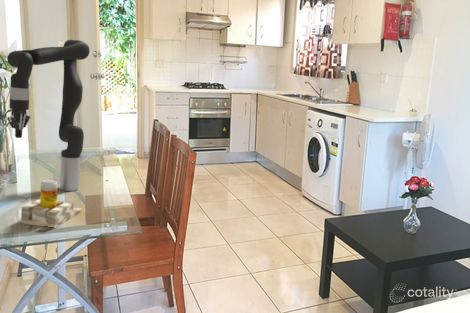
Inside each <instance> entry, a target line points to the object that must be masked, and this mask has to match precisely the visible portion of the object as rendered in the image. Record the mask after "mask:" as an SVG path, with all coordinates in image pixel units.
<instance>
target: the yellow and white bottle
mask: <svg viewBox="0 0 470 313" xmlns="http://www.w3.org/2000/svg"><path fill="white" fill-rule="evenodd" d="M58 187H59V186H58V182H57V180H56V179H51V178H49V179H47V178H46V179H43V180H42V181H41V182H40V198H39V199H40V207H42V208H48V209H49V211H50V210H52V209H54V208H56V207H57V200H58Z"/></svg>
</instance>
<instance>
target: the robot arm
mask: <svg viewBox="0 0 470 313" xmlns="http://www.w3.org/2000/svg"><path fill="white" fill-rule="evenodd" d="M90 50H91V49H90V46H89V45H88V43H86V42H85V41H84V40H78V39H67V40H65V42H64V43H63V46H50V47H49V46H48V47H47V46H45V47H39V48H34V49H24V50H23V49H21V50H14V51H13V50H12V51H10V52H9V54H7V58H6V60H7V63H8V64H9V66H10V67H12V68H16V72H15V73H13V74H11V76H10V85H9V86H10V89H9V104H8V105H9V106H8V107H9V109H10V110H11V112H10V116H7V117H6V118H7V122H8V123H9V125H10V127H11V128H12V129H14V137H15V138H16V139H17V138H18V139H21V138H23V129H25V128H26V127H27V125H28V123H29V121H30V119H31V116H30V115H28V114H27V113H28V112H27V110H30V91H29V90H30V88H29V87H30V83H29V82H30V77H31V75H32V70H33V66H37V65H38V66H39V65H46V64H50V63H55V62H61V61H62V62H63V83H62V85H63V86H62V102H61V113H60V114H61V115H60V122H59V127H58V138H59V139H60V141H62V142H64V143H67V147H66V149H62V150H61V153H60V154H61V155H60V175H59V176H60V178H59V190H61V191H65V192H74V191H78V190H79V189H80V178H81V176H80V175H81V156H82V152H83V147H84V139H85V138H84V137H85V135H84V130H83V129H82V127H80V126H78V125H74V120H75V114H76V112H77V110H78V109H79V107H80V105H81V103H82V100H83V92H84V91H83V83H82V81H81V77H80V76H79V74H78V69H77V68H78V67H77V62H78V60H79V61H83V60H85V59H87V58H88V57H89V56H90Z"/></svg>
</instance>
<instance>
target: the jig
mask: <svg viewBox="0 0 470 313" xmlns="http://www.w3.org/2000/svg"><path fill="white" fill-rule="evenodd" d="M74 206H75V205H74V202H71V201H66V202H65V201H64V200H58V199H57V207H56V208H54V209H52V210H50V211H49V209H48V208H42V207H40V198H39V199H37V200H35V201H32V202H30V203H28V204H26V205H24V206H21V221H20V223H21V224H25V225H31V226H37V227H43V226H49V227H55V226H57V225H60V224H61V225H63V224H64V223H66V222H68V221H70V220H71V219H72V218H74V217H76V216H77V215H79V214H81V213H82V212H83V208H81V207H74ZM62 223H63V224H62ZM61 225H60V226H61ZM49 227H48V228H49Z"/></svg>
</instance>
